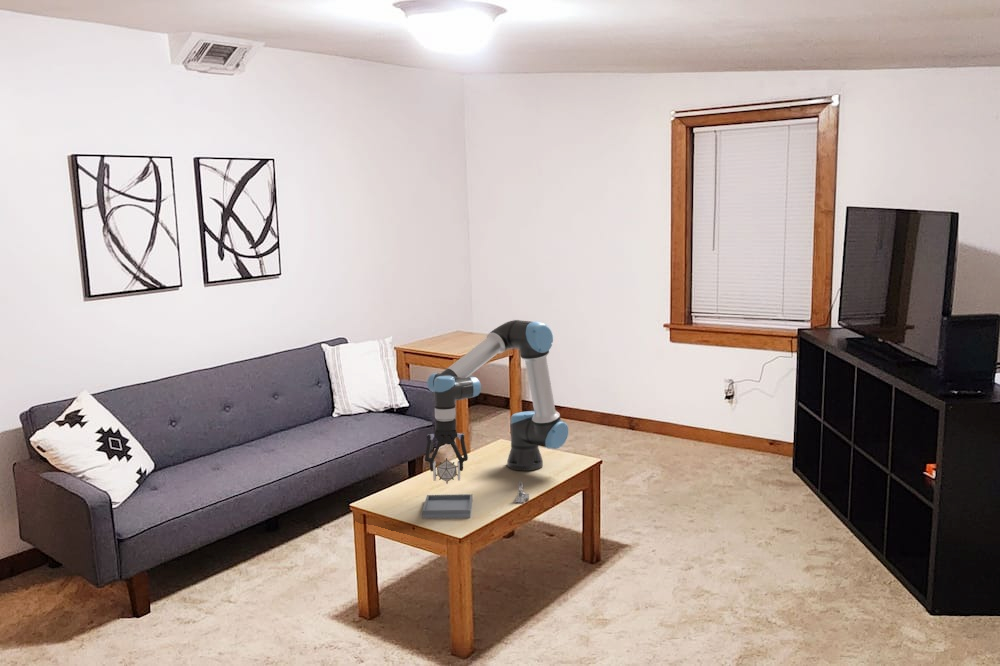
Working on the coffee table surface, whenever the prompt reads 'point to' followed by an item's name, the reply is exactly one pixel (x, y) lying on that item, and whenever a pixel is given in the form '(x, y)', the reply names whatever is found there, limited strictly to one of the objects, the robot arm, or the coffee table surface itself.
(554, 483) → the coffee table surface
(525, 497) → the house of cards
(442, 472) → the game die
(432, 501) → the square tray
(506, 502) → the coffee table surface
